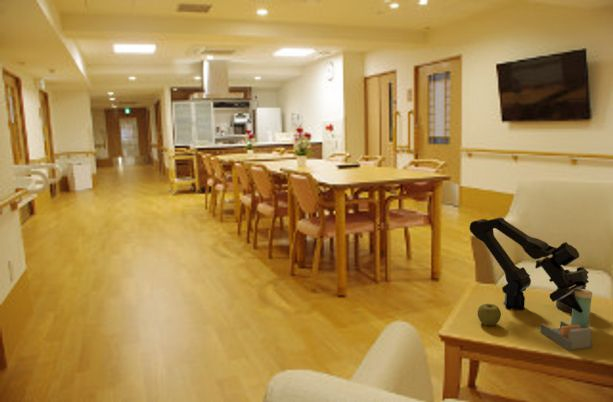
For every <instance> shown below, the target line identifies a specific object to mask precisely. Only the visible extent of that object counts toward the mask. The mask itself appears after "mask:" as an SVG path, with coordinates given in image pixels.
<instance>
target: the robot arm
mask: <svg viewBox="0 0 613 402" xmlns="http://www.w3.org/2000/svg"><path fill="white" fill-rule="evenodd" d="M495 229H496V230H497V231H498V232H500V233H502V234H503V235H505V236H506V237H508V238H509V239H511V240H512V241H514V242H515V243H517V244H518V245H519V246H520V247H521V248H522V249H523V251H524V253H526V254H527V255H528V256H529V257H530V258H531V259H533V260H536V261H535V267H534V268H535V269H539V268H542V270H543V271H544V272H545V273H546V274H547V276H548V277H549V278H550V279H548V280H549V282H550V283H552V282H553V284H554V285H555V287H556V289H555V290H554V291H553V292H550V294H549V299H550V300H551V302H552V303H554V302H556V300H558V299H559V298H560V300H558V302H562V303H564V304H566V305H567V306H569V307H571V308H573V309H574V310H576V311H578V312H580V313H581V312H583V310H582V308H581V307H580V305H579V304H578V302H577V300H576V299H575V297H574V295H575V292H573V290H574V289H585V288H586V287H587V284H589V280H588V279H589V275H588V274H589V270H587V268H585V267H584V266H579V267H577V268H576V270H574V272H570V271H571V270H569V269H565V268H564V267H566V266H568V265H569V264H571V263H572V262H574V261H576V260H577V259H579V258H580V252H579V251H578V250H577V248H576V247H574V246H573V245H571V244H569V243H568V242H567V241H564V242H563V243H561V244H560V245H559V246H558V247H556V246H555V247H554V246H552V245H549V244H548V242H546V241H544V240H542V239H539V238H536V237H534V236H533V237H532V236H530V235H528V234H526V233H525V232H523V231H522V230H520V229H519V228H517V227H516V226H515V225H513V224H512V223H510V222H509V221H507V220H505V218H503V217H495V218H493V219H488V218H487V219H486V218H480V219H477V220H474V221H471V223H470V224H469V231H470V233H471V234H472V235H473V236H474V237H475V239H478V240H479V241H481V242H483V244H484V246H485V247H486V248H487V249H488V251H489V252H490V254H491V256H493V258H494V260H495V261H496V262H497V263H498V265H499V267H500V268H501V269H502V270H503V272H504V276H505V281H506V284H505V285H504V286H502V287H501V289H502V292H503V294H504V301H503V305H504V307H505V309H506V310H519V311H520V310H521V311H524V310H525V302H526V299H525V298H526V296H525V295H524V292H525V291H526V290H527V289H528V288H529V287H530V286H531V284H532V283H531V282H532V279H531V275H530V274H529V273H528V272H527V270H526V269H525V267H523V266H522V267H518V266H517V265H516V264H515V263H514V261H513V260H512V259H511V257H510V256H509V255H508V253H507V251H506V250H505V249H504V247H503V246H502V245H501V243H500V242H499V241H498V240H497V238H496V236H495V233H494V230H495ZM549 256H550V257H549ZM541 258H543V259H542V260H541ZM585 284H586V285H585ZM583 285H585V286H583ZM557 287H558V289H557ZM571 291H572V293H571Z"/></svg>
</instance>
